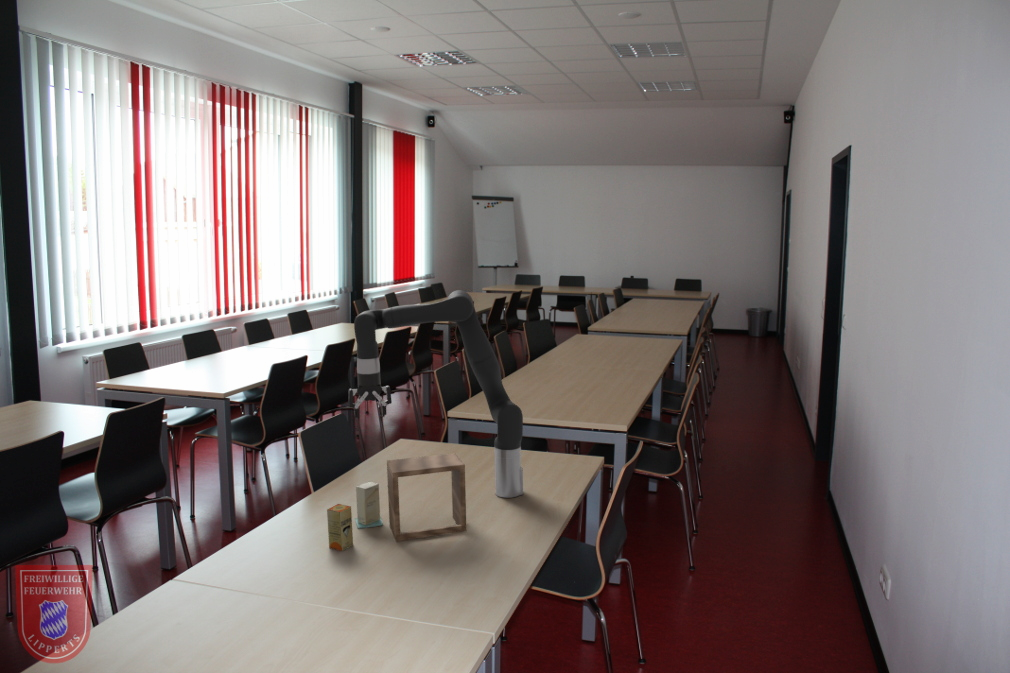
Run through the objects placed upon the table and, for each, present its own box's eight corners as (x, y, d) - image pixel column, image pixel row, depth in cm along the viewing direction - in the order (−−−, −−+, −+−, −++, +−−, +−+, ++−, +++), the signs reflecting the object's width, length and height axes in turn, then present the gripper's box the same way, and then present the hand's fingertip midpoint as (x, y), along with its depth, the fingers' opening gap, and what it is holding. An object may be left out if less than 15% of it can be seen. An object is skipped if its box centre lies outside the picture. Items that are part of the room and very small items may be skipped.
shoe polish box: (329, 547, 215) (327, 509, 214) (340, 541, 220) (338, 503, 218) (342, 551, 213) (340, 512, 211) (353, 544, 217) (351, 506, 216)
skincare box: (366, 525, 230) (364, 489, 228) (356, 522, 232) (355, 486, 231) (381, 519, 235) (379, 483, 233) (371, 516, 237) (370, 480, 236)
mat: (379, 516, 238) (379, 514, 238) (383, 525, 231) (383, 524, 231) (355, 519, 236) (355, 518, 236) (357, 528, 229) (357, 527, 228)
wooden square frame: (457, 516, 237) (455, 452, 234) (466, 531, 226) (464, 464, 222) (389, 525, 230) (386, 460, 227) (395, 541, 219) (392, 472, 216)
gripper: (348, 374, 238) (350, 422, 240) (391, 371, 242) (393, 418, 245) (346, 370, 245) (348, 416, 248) (388, 367, 249) (390, 412, 252)
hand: (370, 417), depth 246 cm, fingers open, 8 cm apart
